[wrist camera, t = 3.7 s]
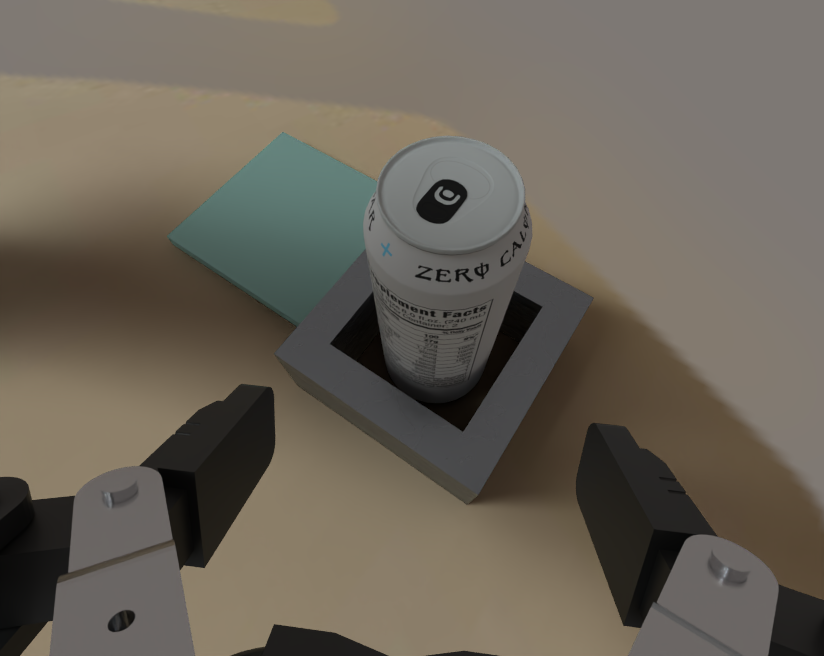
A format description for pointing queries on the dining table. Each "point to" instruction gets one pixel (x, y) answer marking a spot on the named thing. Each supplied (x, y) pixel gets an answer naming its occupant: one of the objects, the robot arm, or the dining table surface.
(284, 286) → the mat
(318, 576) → the dining table surface
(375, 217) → the energy drink can
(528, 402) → the collar block
